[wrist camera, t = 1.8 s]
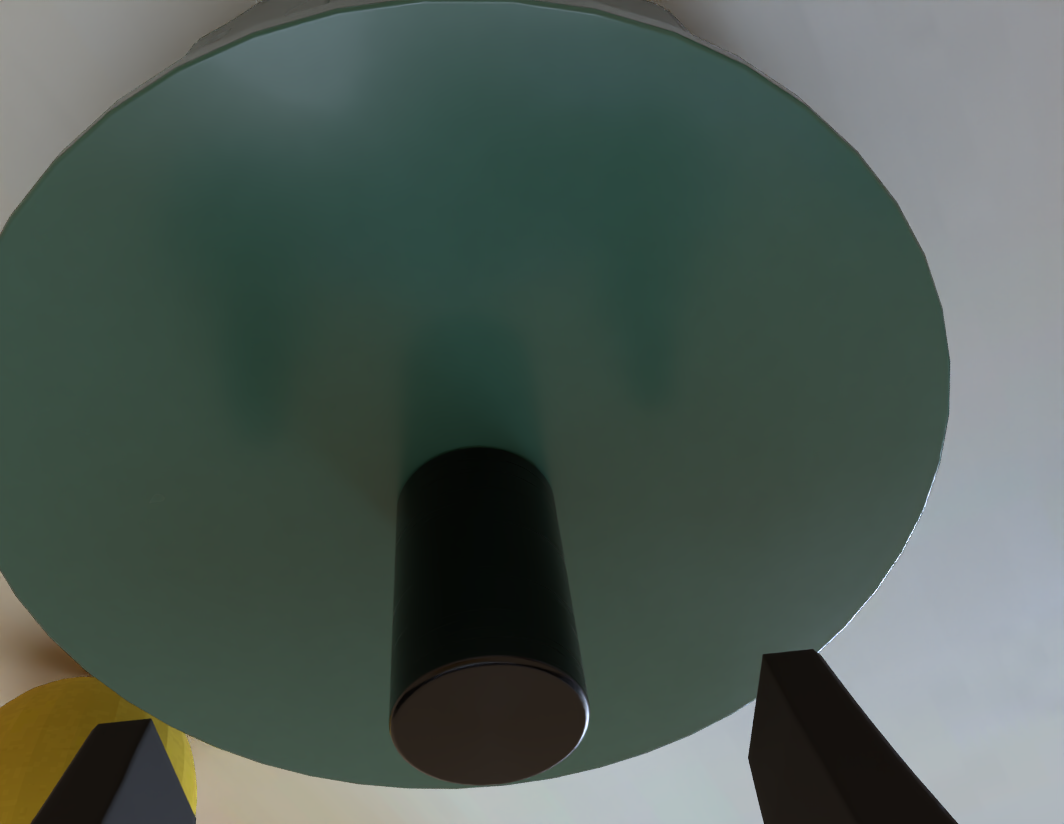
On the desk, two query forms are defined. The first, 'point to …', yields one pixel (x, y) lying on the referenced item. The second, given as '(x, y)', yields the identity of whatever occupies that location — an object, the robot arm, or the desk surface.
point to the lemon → (66, 741)
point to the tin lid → (458, 390)
